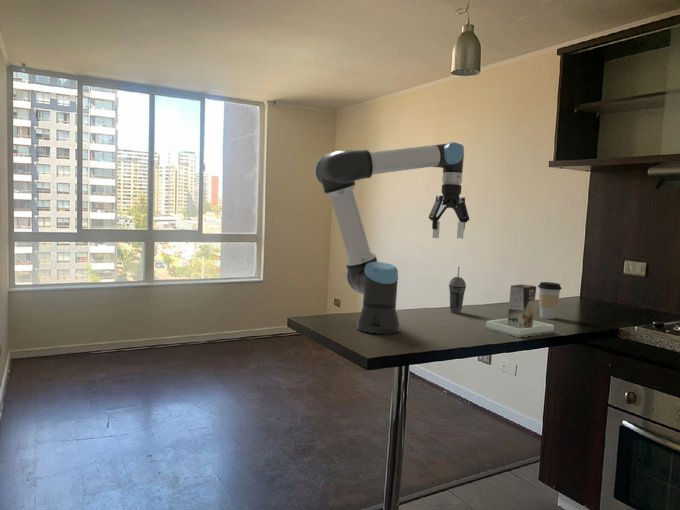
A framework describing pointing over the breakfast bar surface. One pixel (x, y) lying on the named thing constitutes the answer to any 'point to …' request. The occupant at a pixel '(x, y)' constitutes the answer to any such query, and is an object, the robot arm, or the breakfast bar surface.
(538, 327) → the sage tray
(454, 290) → the beverage cup
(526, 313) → the coffee box
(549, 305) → the coffee cup
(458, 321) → the breakfast bar surface
